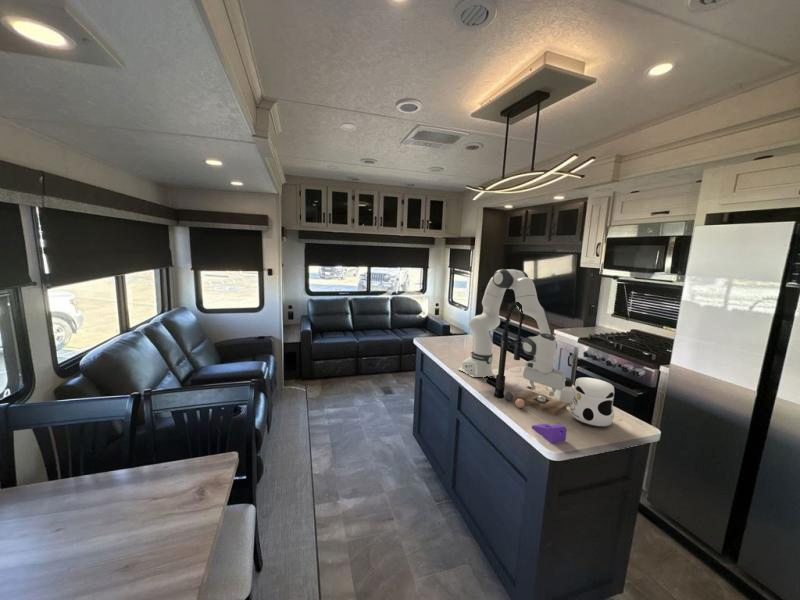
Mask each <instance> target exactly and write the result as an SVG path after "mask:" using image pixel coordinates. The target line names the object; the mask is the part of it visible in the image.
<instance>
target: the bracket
mask: <svg viewBox="0 0 800 600" xmlns="http://www.w3.org/2000/svg"><path fill="white" fill-rule="evenodd" d="M531 429H532V430H534V431H535V432H536V433H538V434H539V435H540V436H541V435H542V436H541V437H543V438H544V439H545V440H547V441H548V442H549V443H551V444H557V443H562V442H566V439H567V431H568V430H567V427H566V426H564V424H561V423H559V424H553V425H551V424H549V423H540V424H539V423H538V424H532V425H531Z"/></svg>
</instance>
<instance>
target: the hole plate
mask: <svg viewBox="0 0 800 600" xmlns="http://www.w3.org/2000/svg"><path fill="white" fill-rule="evenodd" d="M538 396H543V397H545V399H546V403H545V404H544V403H541V402H539V401H536V399H537V397H538ZM516 397H517V398H516V400H517V399H523V400H524V402H525V405H527V406H530V407H532V408H534V409H537V410H540V411H542V412H544V413H547V414H550V415H551V416H557V415H559V414H561V413H562V412H563V411H565V410H567V407H568V403H563V402H560V401H558V400H557V399H556V398H551V397H548V396H546V395H542V394H540V393H537V392H535V391H532V390H530V389H529V390H526V391H524V392H523V393H520V394H518V395H517V396H516Z"/></svg>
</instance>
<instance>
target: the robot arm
mask: <svg viewBox="0 0 800 600" xmlns="http://www.w3.org/2000/svg"><path fill="white" fill-rule="evenodd" d="M508 289H509V290H513V292H514V298H515V303H516V302H519V303H520V304H521V305H522V311H523V313H522V314H524V315H526V316H529V317H531V318H533V319H534V320H535V321H536V323H537V327H538V330H539V332H540V334H538V335H535V336H528V337H525V338H524V339H523V341H522V343H521V347H522V350H523V352H524V353H525V354H526V355H528V356H533V357H535V359H533V360H528V361H527V362H525V366H524V369H523V376H522V377H523V379H525V380H527V381H529V383H530V386H531V387H530V389H531V390H536V387H537V386H536V385H535V383H536V384H539V385H542V386H546V387H548V388H551V391H549V396H550V397H553V396H554V397H555V391H556V390H563V389H564V388H565V378H567V377H566V374H565V372H564V371H562V370H559V369H556V368H555V364H556V359H555V356H556V354H557V348H558V342H557V339H556V337H555V336H554V333H553V331H552V328H551V324H550V321H549V318H548V315H547V312H546V310H545V308H544V307H543V306H542V305H541V303H540V302H539V299H538V294H537V290H536V286H535V284H534V281H533V280H532V278H530V277H529V275H528V274H527V272H526V271H523V270H518V269H514V268H511V269H505V268H501V269H500V268H499V269H498V270H496V271H495V272H494V273H493V275H492V277H491V278H490V279H489V281H488V284H487V285H486V288H485V290H484V295H483V297H482V301H481V305H482V313H481V314H476V315H475V316H473V317H472V318H470V319H469V321H468V328H469V329H470V331H471V333H472V334H473V339H474V341H473V342H474V347H473V351H470V353H469V354H470V356H469V357H468V358H466V359H464V360H463V362H462V364H461V366H459V367H458V369H459V370H461V371H463V372H465V373H466V374H465V373H464V374H465V375H467V374H469V375H471V376H472V377H471V376H470V377H471V378H473V377H483V378H482V379H485V378H484V377H486V376H492V375H493V376H494V372H493V365H492V363H493V345H494V344H493V343H494V342H493V340H492V339H491V335H490V331H493V330H495V329H497V328H498V327H499V326H500V324H501V319H500V309H501V305H502V303H503V299H504V295H505V293H506V290H508ZM516 308H517V309H518V311H519V312H521V309H520V310H519V307H518V306H517V305H516ZM460 367H461V368H460ZM458 369H457V370H458ZM459 370H458V371H459ZM461 371H460V372H461ZM463 372H462V373H463ZM469 375H468V376H469Z"/></svg>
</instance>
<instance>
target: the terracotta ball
mask: <svg viewBox="0 0 800 600" xmlns="http://www.w3.org/2000/svg"><path fill="white" fill-rule="evenodd" d="M514 404H515V406H516V407H517V408H519V409H522V408H524V407H525V405H526V404H525V402H524V400H523V399H517V398H516V399H515V403H514Z"/></svg>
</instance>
